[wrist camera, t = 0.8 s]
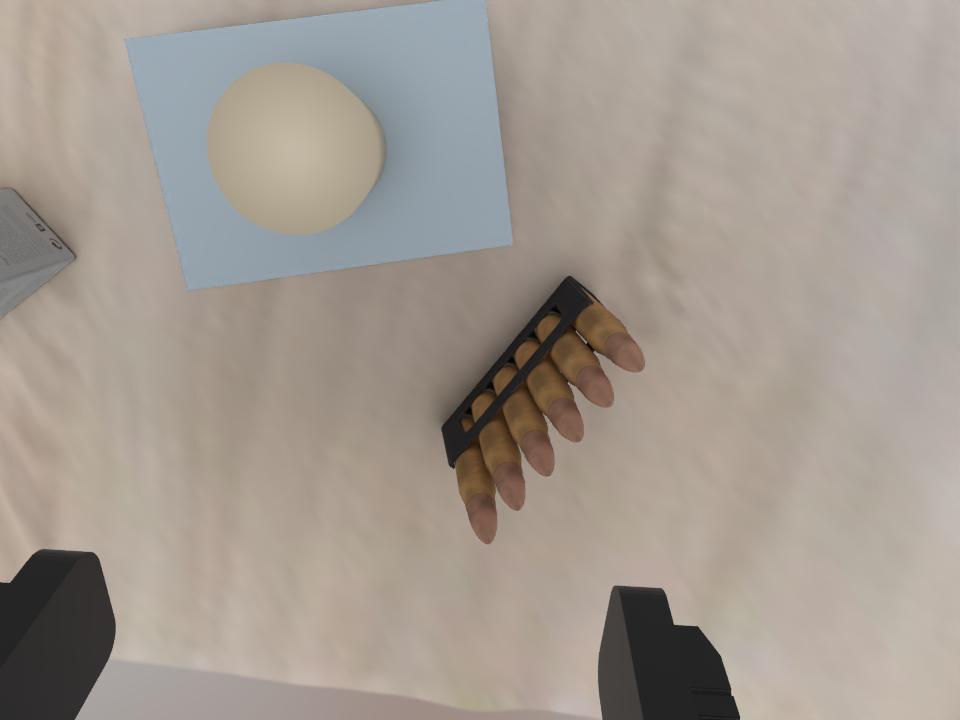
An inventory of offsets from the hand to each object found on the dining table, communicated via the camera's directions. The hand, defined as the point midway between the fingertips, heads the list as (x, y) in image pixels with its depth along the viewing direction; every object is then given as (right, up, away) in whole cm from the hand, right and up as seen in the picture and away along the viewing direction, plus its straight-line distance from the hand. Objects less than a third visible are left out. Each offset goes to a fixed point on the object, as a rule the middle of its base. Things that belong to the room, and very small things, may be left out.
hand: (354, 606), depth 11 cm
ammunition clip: (+4, +4, +27) cm, 28 cm away
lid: (-4, +13, +18) cm, 23 cm away
